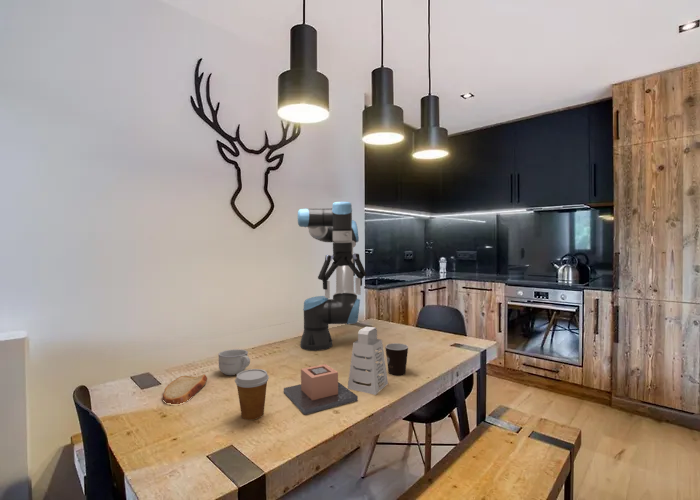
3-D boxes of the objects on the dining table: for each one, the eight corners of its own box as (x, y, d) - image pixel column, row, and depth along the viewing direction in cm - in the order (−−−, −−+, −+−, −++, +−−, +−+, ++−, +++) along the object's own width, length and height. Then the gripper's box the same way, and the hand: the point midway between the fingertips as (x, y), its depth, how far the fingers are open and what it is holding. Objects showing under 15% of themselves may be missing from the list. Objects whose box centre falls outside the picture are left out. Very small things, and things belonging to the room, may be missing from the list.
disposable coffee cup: (270, 419, 104) (269, 378, 104) (235, 425, 101) (234, 382, 101) (268, 405, 113) (267, 366, 113) (235, 409, 110) (235, 370, 110)
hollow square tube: (301, 389, 121) (300, 368, 120) (325, 384, 125) (325, 363, 125) (312, 400, 113) (312, 377, 113) (338, 393, 117) (337, 372, 117)
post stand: (283, 392, 122) (283, 367, 122) (331, 381, 131) (331, 358, 131) (304, 414, 107) (304, 386, 106) (357, 400, 116) (357, 374, 115)
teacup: (213, 373, 141) (213, 352, 140) (238, 365, 149) (238, 346, 148) (232, 382, 131) (231, 360, 131) (258, 374, 139) (257, 353, 139)
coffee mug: (407, 377, 134) (407, 350, 134) (384, 376, 136) (384, 349, 135) (409, 366, 145) (409, 341, 145) (387, 365, 147) (387, 340, 147)
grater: (388, 383, 129) (387, 327, 128) (375, 394, 120) (375, 334, 119) (361, 378, 134) (361, 324, 133) (347, 388, 125) (346, 330, 124)
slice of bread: (172, 409, 112) (171, 397, 112) (148, 393, 124) (147, 382, 123) (225, 390, 126) (225, 379, 126) (199, 377, 137) (198, 367, 137)
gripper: (316, 243, 133) (317, 301, 135) (374, 241, 145) (375, 294, 146) (308, 242, 140) (309, 297, 141) (364, 240, 152) (365, 291, 153)
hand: (343, 296), depth 144 cm, fingers open, 13 cm apart
